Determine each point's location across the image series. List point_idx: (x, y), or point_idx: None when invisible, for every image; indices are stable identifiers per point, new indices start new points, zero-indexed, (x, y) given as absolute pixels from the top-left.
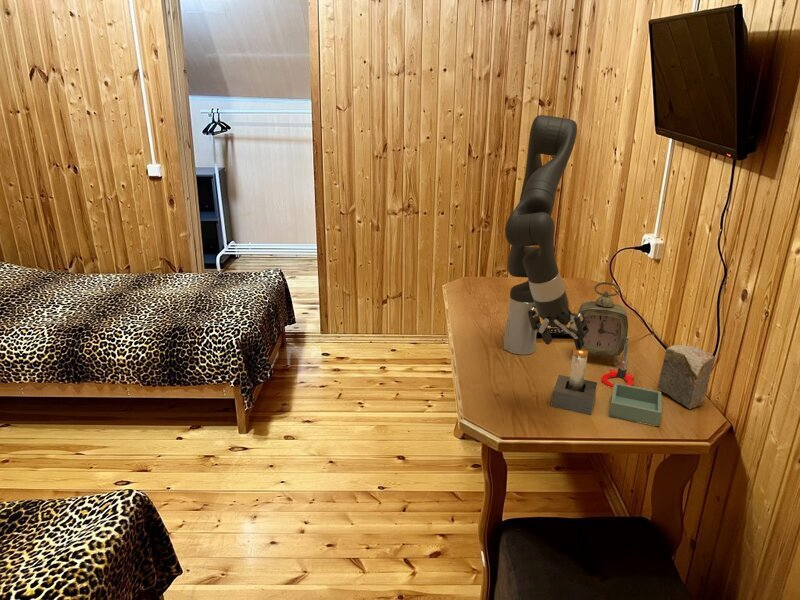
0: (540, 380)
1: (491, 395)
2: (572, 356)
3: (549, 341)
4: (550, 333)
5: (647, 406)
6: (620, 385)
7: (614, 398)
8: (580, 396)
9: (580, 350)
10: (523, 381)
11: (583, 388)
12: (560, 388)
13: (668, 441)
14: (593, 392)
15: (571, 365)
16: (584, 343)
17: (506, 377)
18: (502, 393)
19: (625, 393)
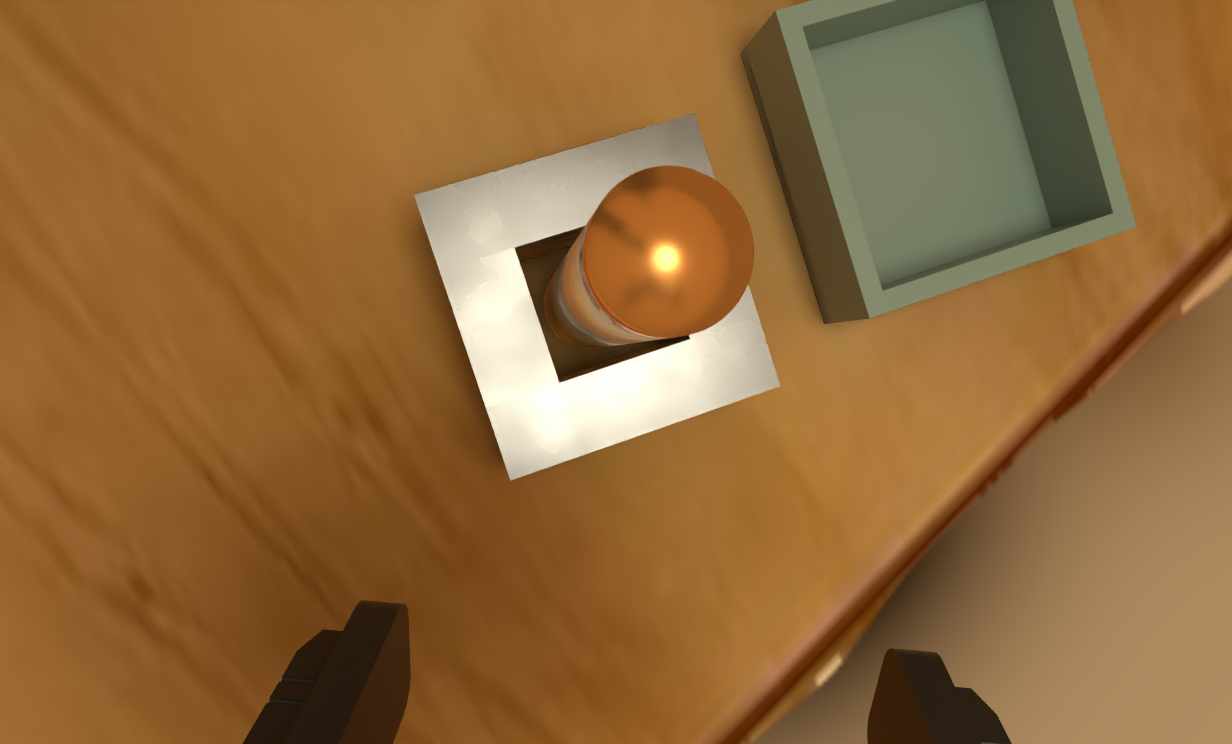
0: (264, 172)
1: (112, 631)
2: (588, 303)
3: (399, 680)
4: (361, 689)
5: (960, 65)
6: (820, 21)
7: (863, 245)
8: (697, 412)
9: (675, 265)
10: (173, 275)
11: None
12: (534, 405)
13: (1138, 348)
14: None
15: (583, 317)
16: (994, 713)
17: (31, 308)
18: (157, 548)
19: (835, 34)
